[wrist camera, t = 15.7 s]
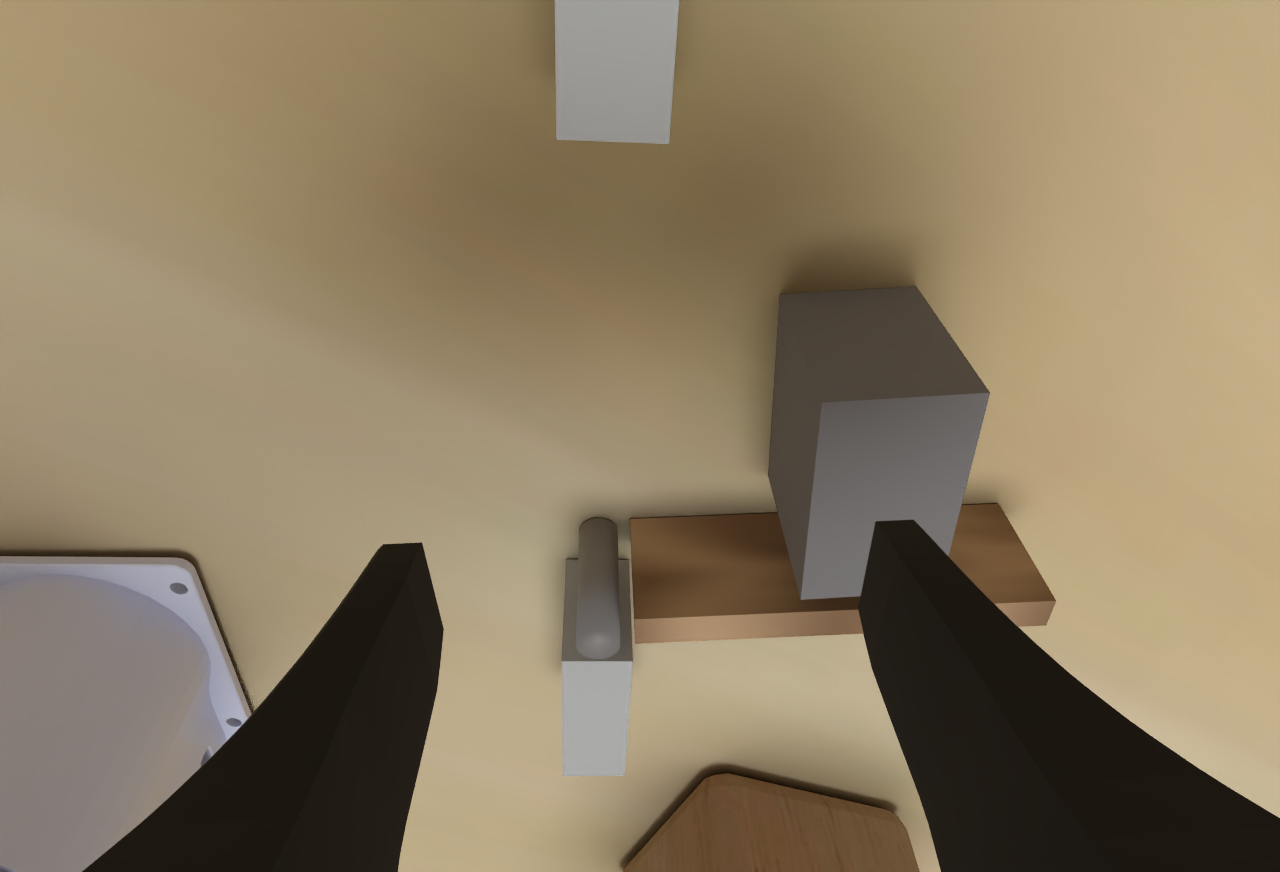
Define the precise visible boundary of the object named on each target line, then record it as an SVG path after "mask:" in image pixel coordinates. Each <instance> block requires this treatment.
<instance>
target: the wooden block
mask: <svg viewBox="0 0 1280 872" xmlns="http://www.w3.org/2000/svg"><path fill="white" fill-rule="evenodd" d="M623 872H919V868H918V865H917V862H916V858H915V855H914V852H913V849H912V845H911V842H910V839H909V836H908V832H907V829H906V828H905V826H904V825H903V823H902V822H901V820H900V819H899V817H898V816H896V815H895V814H893V813H892V812H890V811H889V810H886V809H881V808H877V807H873V806H868V805H864V804H859V803H855V802H851V801H846V800H842V799H838V798H833V797H829V796H825V795H820V794H816V793H812V792H807V791H803V790H799V789H794V788H790V787H786V786H781V785H777V784H773V783H768V782H764V781H759V780H755V779H751V778H746V777H742V776H738V775H733V774H729V773H726V774H718V775H713V776H710V777H708V778H705V779H704V780H703V781H702V782H701V783H700V784H699V786H698V787H697V788H696V789H695V790H694V791H693V792H692V793H691V794H690V796H689V797H688V798H687V799H686V800H685V801H684V802H683V803H682V805H681V806H680V807H679V808H678V809H677V810H676V811H675V812H674V813H673V815H672V816H671V817H670V818H669V819H668V820H667V821H666V822H665V824H664V825H663V826H662V827H661V828H660V829H659V830H658V831H657V832H656V834H655V835H654V836H653V837H652V838H651V839H650V840H649V841H648V843H647V844H646V845H645V846H644V847H643V848H642V849H641V850H640V851H639V853H638V854H637V855H636V856H635V857H634V858H633V859H632V860H631V862H630V863H629V864H628V865H627V866H626V867H625V869H624V871H623Z"/></svg>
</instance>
